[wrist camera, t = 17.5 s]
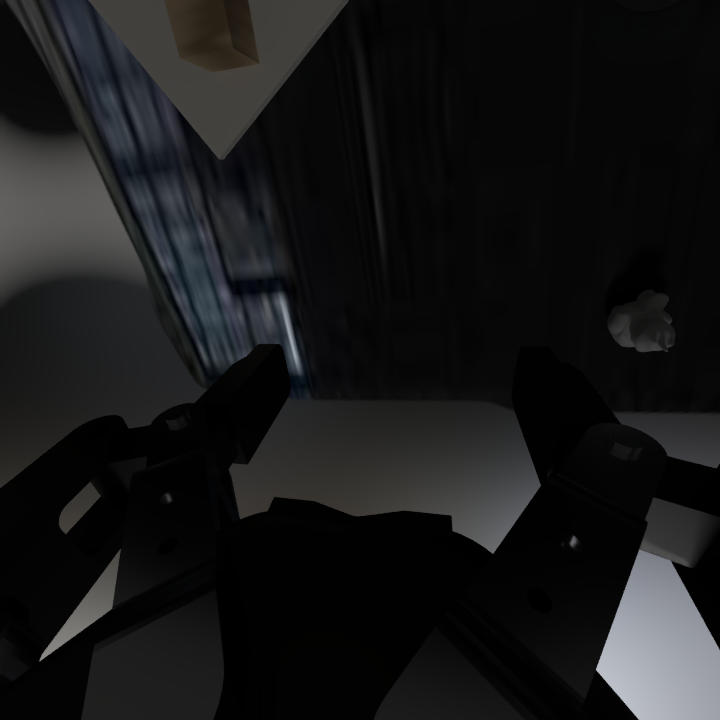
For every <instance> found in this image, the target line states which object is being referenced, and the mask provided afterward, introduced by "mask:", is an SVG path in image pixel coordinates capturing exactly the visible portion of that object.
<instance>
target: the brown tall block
mask: <svg viewBox="0 0 720 720" xmlns="http://www.w3.org/2000/svg"><path fill="white" fill-rule="evenodd" d="M164 2H165V5H166V9H167V13H168V16H169V20H170V24H171V27H172V31H173V35H174V38H175V42H176V46H177V49H178V53H179V57H180V58H181V59H183V60H185V61H188V62H190V63H192V64H195V65H197V66H199V67H201V68H204V69H206V70H208V71H211V72H218V71H223V70H229V69H235V68H241V67H246V66H252V65H258V64H260V63H259V58H258V52H257V47H256V41H255V35H254V30H253V24H252V19H251V13H250V8H249V2H248V0H164Z"/></svg>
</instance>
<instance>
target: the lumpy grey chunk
mask: <svg viewBox="0 0 720 720" xmlns="http://www.w3.org/2000/svg"><path fill="white" fill-rule="evenodd" d="M668 300H669V298H668V296H667V295H665V294H663V293H655V292H654V291H653V290H646V291H643V292H642V293H641V294H640V295H639V296H638V297H637V300H636V301H634V302H629V303H626V304H624V305H619V306H616V307H614V308H613V309H612V311H611V313H610V315H609V317H608V320H607V324H608V328H609V331H610V333H611V335H612V336H613V338H614V339H615V341H617V342H618V343H619V344H620V345H621V346H624V347H636V349H637V350H638V351H640V352H648V351H659V350H664V351H666V352H668V351H667V347H670V346H673V345H674V339H675V331H674V329H673V327H672V326H671V325H670V323H671V322H672V318H671V316H670V315H669V314H667V313H666V312H665V311H664V310H663V308H664V307H665V306H666V304H667V303H668Z"/></svg>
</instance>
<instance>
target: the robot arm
mask: <svg viewBox="0 0 720 720" xmlns="http://www.w3.org/2000/svg"><path fill="white" fill-rule="evenodd" d="M616 1H617V2H618V3H619V4H620V5H621V6H623V7H626V8H628V9H630V10H633V11H640V12H647V11H655V10H660V9H662V8H665V7H668V6H670V5H673V4H675V3H676V2H678V1H680V0H616ZM290 388H291V383H290V377H289V373H288V369H287V364H286V360H285V355H284V351H283V348H282V346H281V345H280V344H258V345H257V346H256V347H255V348H254V349H253V350H252V351H251V352H250V353H249V354H248V355H247V356H246V357H244V358H243V359H241V360H239V361H237V362H236V363H234V364H233V365H232V366H231V367H230V368H229V369H228V370H227V371H226V372H225V374H223V375H222V376H221V377H220V378H219V379H218V381H217V382H215V383H214V384H213V385H212V386H211V387H210V388H209V389H208V390H207V391H206V392H205V393H204V394H203V395H202V396H201V397H200V398H199V399H198V400H197V401H196V402H195V403H185V404H181V405H177V406H174V407H172V408H170V409H168V410H166V411H164V412H162V413H161V414H159V415H158V416H157V417H156V418H155V419H154V420H153V421H152V423H151V425H149V426H143V427H138V428H131V429H129V428H128V427H127V425H126V423H125V421H124V420H123V418H122V417H120V416H117V415H109V416H104V417H100V418H96V419H94V420H91V421H89V422H87V423H85V424H83V425H81V426H79V427H78V428H76V429H75V430H73V431H72V432H71V433H69V434H68V435H67V436H66V437H64V438H63V439H62V440H61V441H60V442H58V443H57V444H56V445H54V446H53V447H52V448H51V449H49V450H48V451H47V452H46V453H44V454H43V455H42V456H40V457H39V458H38V459H37V460H35V461H34V462H33V463H32V464H30V465H29V466H28V467H27V468H25V469H24V470H23V471H22V472H20V473H19V474H18V475H17V476H15V477H14V478H13V479H12V480H10V481H9V482H8V483H7V484H5V485H4V486H3V487H2V488H0V720H638V718H637V717H636V716H635V715H634V714H633V712H632V711H631V710H630V709H629V708H628V707H627V706H626V705H625V703H624V702H623V701H622V700H621V698H620V697H619V696H618V695H617V694H616V693H615V692H614V690H613V689H612V688H611V687H610V686H609V685H608V683H607V682H606V681H605V680H604V679H603V678H602V676H601V675H600V674H599V673H598V672H597V671H596V668H597V665H598V662H599V659H600V656H601V654H602V651H603V648H604V645H605V643H606V640H607V637H608V634H609V632H610V629H611V626H612V623H613V621H614V618H615V615H616V612H617V609H618V607H619V604H620V601H621V598H622V596H623V593H624V590H625V587H626V585H627V582H628V579H629V576H630V573H631V570H632V568H633V565H634V562H635V560H636V556H637V554H638V551H639V549H641V550H643V551H646V552H649V553H651V554H654V555H657V556H660V557H662V558H665V559H668V560H671V562H672V564H673V566H674V567H675V569H676V571H677V573H678V575H679V576H680V578H681V580H682V582H683V584H684V585H685V587H686V589H687V591H688V593H689V595H690V596H691V598H692V600H693V602H694V604H695V606H696V607H697V609H698V611H699V613H700V615H701V617H702V618H703V620H704V622H705V624H706V626H707V627H708V629H709V631H710V633H711V635H712V636H713V638H714V640H715V642H716V644H717V646H718V647H719V649H720V464H719V466H718V467H717V469H716V468H712V467H708V466H704V465H700V464H696V463H692V462H688V461H684V460H680V459H676V458H673V457H669V456H667V453H666V451H665V449H664V448H663V447H662V446H661V445H660V444H659V443H658V442H657V441H656V440H655V439H654V438H652V437H650V436H649V435H647V434H646V433H644V432H642V431H640V430H637V429H635V428H632V427H629V426H626V425H622V424H621V423H620V422H619V421H618V419H617V418H616V417H615V415H614V414H613V413H612V411H611V410H610V409H609V407H608V406H607V405H606V403H605V402H604V401H603V399H602V398H601V397H600V395H597V391H596V390H595V388H594V387H593V386H592V385H590V382H589V380H588V379H587V378H586V376H585V375H584V374H583V372H581V371H580V370H578V369H577V368H575V367H574V366H572V365H570V364H569V363H560V362H559V361H558V359H557V358H556V356H555V355H554V353H553V352H552V350H551V349H550V348H549V347H529V346H522V347H521V348H520V350H519V353H518V359H517V364H516V370H515V375H514V381H513V386H512V404H513V408H514V411H515V413H516V416H517V419H518V422H519V425H520V428H521V430H522V433H523V436H524V439H525V442H526V444H527V447H528V450H529V453H530V456H531V459H532V461H533V464H534V467H535V470H536V473H537V475H538V478H539V481H540V484H541V487H540V488H539V489H538V491H537V492H536V494H535V495H534V497H533V498H532V499H531V501H530V502H529V504H528V505H527V506H526V508H525V509H524V511H523V512H522V514H521V515H520V516H519V518H518V519H517V521H516V522H515V524H514V525H513V526H512V528H511V530H510V531H509V532H508V534H507V535H506V536H505V538H504V539H503V541H502V542H501V544H500V545H499V547H498V548H497V549H496V551H495V552H494V554H492V553H491V552H489V551H488V550H487V549H486V548H484V547H483V546H481V545H480V544H478V543H477V542H475V541H473V540H471V539H469V538H467V537H465V536H463V535H461V534H459V533H456V532H453V531H452V517H451V516H450V515H441V514H431V513H422V512H412V511H399V512H390V513H383V514H376V515H367V516H359V517H357V516H352V515H349V514H347V513H344V512H341V511H339V510H336V509H333V508H331V507H328V506H326V505H323V504H320V503H318V502H315V501H307V500H298V499H288V498H279V497H274V499H273V501H272V503H271V505H270V507H269V510H268V511H267V512H262V513H258V514H254V515H251V516H248V517H245V518H243V519H241V520H240V517H239V512H238V507H237V502H236V497H235V492H234V487H233V482H232V477H231V474H230V472H229V468H230V466H231V465H232V463H236V464H248V463H249V462H250V460H251V458H252V457H253V455H254V453H255V452H256V450H257V448H258V447H259V445H260V443H261V441H262V440H263V438H264V437H265V435H266V433H267V432H268V430H269V428H270V427H271V425H272V423H273V422H274V420H275V418H276V417H277V415H278V413H279V412H280V410H281V408H282V407H283V405H284V403H285V402H286V400H287V398H288V397H289V394H290ZM89 482H91V483H92V484H93V486H94V487H95V489H96V490H97V491H98V493H99V494H100V495H101V497H100V498H99V499H98V500H97V501H96V502H95V503H94V505H93V506H92V507H91V508H90V509H89V510H88V511H87V512H86V513H85V514H84V515H83V517H81V519H80V520H79V521H78V522H77V523H76V524H75V525H74V526H73V527H72V528H71V529H70V530H69V532H68V533H67V534H65V533H64V532H63V531H62V530H61V529H60V527H59V517H60V514H61V512H62V510H63V509H64V507H65V506H66V505H67V504H68V503H69V502H70V501H71V500H72V499H73V498H74V497H75V496H76V495H77V494H78V493H79V492H80V491H81V490H82V489H83V488H84V487H85V486H86V485H87V484H88V483H89ZM120 549H121V553H120V559H119V566H118V573H117V580H116V586H115V593H114V600H113V607H112V610H110V611H109V612H107V613H106V614H105V615H103V616H102V617H101V618H99V619H98V620H96V621H95V622H94V623H92V624H91V625H89V626H88V627H87V628H85V629H84V630H83V631H81V632H80V633H78V634H77V635H76V636H74V637H73V638H72V639H70V640H69V641H67V642H66V643H65V644H63V645H62V646H61V647H59V648H58V649H56V650H55V651H54V652H52V653H51V654H49V655H48V656H47V657H45V658H44V659H43V660H41V661H40V662H39V660H40V658H41V655H42V653H43V652H44V651H45V649H46V648H47V647H48V645H49V644H50V643H51V641H52V640H53V639H54V637H55V636H56V635H57V633H58V632H59V631H60V629H61V628H62V627H63V625H64V624H65V623H66V621H67V620H68V619H69V617H70V616H71V615H72V613H73V612H74V610H75V609H76V608H77V606H78V605H79V604H80V602H81V601H82V600H83V598H84V597H85V596H86V594H87V593H88V592H89V590H90V589H91V588H92V586H93V585H94V584H95V582H96V581H97V580H98V578H99V577H100V576H101V574H102V573H103V572H104V570H105V569H106V567H107V566H108V565H109V563H110V562H111V561H112V559H113V558H114V557H115V555H116V554H117V553H118V551H119V550H120Z"/></svg>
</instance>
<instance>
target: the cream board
mask: <svg viewBox="0 0 720 720" xmlns="http://www.w3.org/2000/svg"><path fill="white" fill-rule="evenodd" d="M348 1H349V0H248V2H249V8H250V13H251V19H252V24H253V30H254V35H255V41H256V47H257V52H258V58H259V63H260V64H258V65H252V66H246V67H241V68H235V69H229V70H223V71H218V72H211V71H208V70H206V69H204V68H201V67H199V66H197V65H195V64H192V63H190V62H188V61H185V60H183V59H181V58H180V57H179V53H178V49H177V46H176V42H175V38H174V35H173V31H172V27H171V24H170V20H169V16H168V13H167V9H166V5H165V2H164V0H89V2H90V3H91V4H92V5H93V6H94V8H95V9H96V10H97V11H98V13H99V14H100V15H101V16H102V17H103V19H104V20H105V21H106V22H107V23H108V25H109V26H110V27H111V28H112V30H113V31H114V32H115V33H116V34H117V36H118V37H119V38H120V39H121V41H122V42H123V43H124V44H125V45H126V47H127V48H128V49H129V50H130V51H131V53H132V54H133V55H134V56H135V58H136V59H137V60H138V61H139V62H140V64H141V65H142V66H143V67H144V68H145V70H146V71H147V72H148V73H149V75H150V76H151V77H152V78H153V79H154V81H155V82H156V83H157V84H158V86H159V87H160V88H161V89H162V90H163V92H164V93H165V94H166V95H167V96H168V98H169V99H170V100H171V101H172V103H173V104H174V105H175V106H176V107H177V109H178V110H179V111H180V112H181V113H182V115H183V116H184V117H185V118H186V120H187V121H188V122H189V123H190V124H191V126H192V127H193V128H194V129H195V131H196V132H197V133H198V134H199V135H200V137H201V138H202V139H203V140H204V141H205V143H206V144H207V145H208V146H209V148H210V149H211V150H212V151H213V152H214V154H215V155H216V156H217V157H218V158H219V159H224V158H225V157H226V156H227V155H228V153H229V152H230V151H231V150H232V148H233V147H234V146H235V144H236V143H237V142H238V141H239V139H240V138H241V137H242V136H243V134H244V133H245V132H246V130H247V129H248V128H249V127H250V125H251V124H252V123H253V122H254V120H255V119H256V118H257V117H258V115H259V114H260V113H261V111H262V110H263V109H264V108H265V106H266V105H267V104H268V103H269V101H270V100H271V99H272V97H273V96H274V95H275V94H276V92H277V91H278V90H279V89H280V87H281V86H282V85H283V84H284V82H285V81H286V80H287V78H288V77H289V76H290V75H291V73H292V72H293V71H294V70H295V68H296V67H297V66H298V64H299V63H300V62H301V61H302V59H303V58H304V57H305V56H306V54H307V53H308V52H309V51H310V49H311V48H312V47H313V45H314V44H315V43H316V42H317V40H318V39H319V38H320V37H321V35H322V34H323V33H324V31H325V30H326V29H327V28H328V26H329V25H330V24H331V23H332V21H333V20H334V19H335V18H336V16H337V15H338V14H339V12H340V11H341V10H342V9H343V7H344V6H345V5H346V4H347V2H348Z"/></svg>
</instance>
